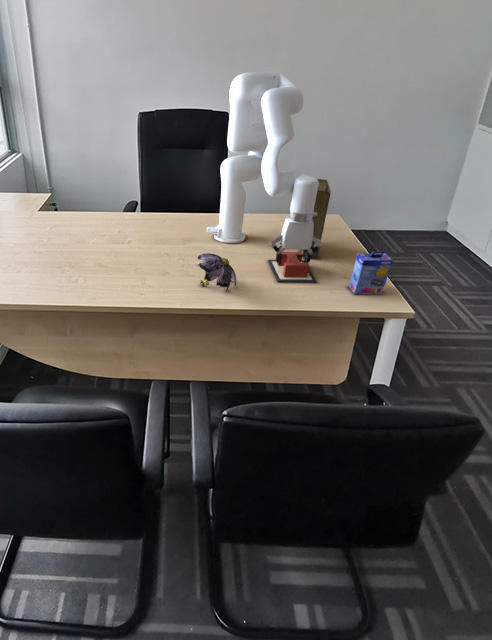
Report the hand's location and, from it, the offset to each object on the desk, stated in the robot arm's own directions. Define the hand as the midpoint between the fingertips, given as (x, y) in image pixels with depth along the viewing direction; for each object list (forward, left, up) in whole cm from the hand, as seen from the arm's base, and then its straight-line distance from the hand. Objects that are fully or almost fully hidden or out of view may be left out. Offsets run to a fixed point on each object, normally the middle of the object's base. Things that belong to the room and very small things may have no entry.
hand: (292, 263), depth 171 cm
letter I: (0, 0, -2) cm, 2 cm away
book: (+11, +19, -3) cm, 22 cm away
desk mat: (0, 0, -3) cm, 3 cm away
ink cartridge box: (+21, -15, -3) cm, 26 cm away
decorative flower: (-28, -12, -3) cm, 31 cm away
